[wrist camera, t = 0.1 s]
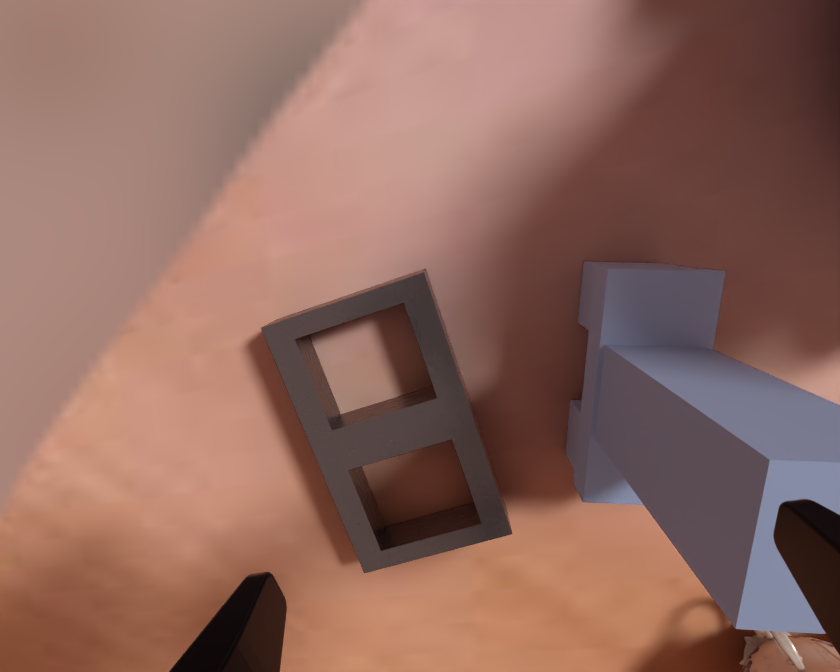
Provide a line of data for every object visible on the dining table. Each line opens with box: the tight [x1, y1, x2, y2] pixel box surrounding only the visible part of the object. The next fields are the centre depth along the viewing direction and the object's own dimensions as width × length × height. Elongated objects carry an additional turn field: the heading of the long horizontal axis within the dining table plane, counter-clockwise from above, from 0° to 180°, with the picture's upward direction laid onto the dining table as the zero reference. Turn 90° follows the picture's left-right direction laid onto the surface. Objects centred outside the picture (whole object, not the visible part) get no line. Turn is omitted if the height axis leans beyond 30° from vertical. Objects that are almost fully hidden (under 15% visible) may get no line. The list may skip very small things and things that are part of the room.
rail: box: [261, 269, 512, 573], centre depth 23 cm, size 14×8×2 cm, turn 19°
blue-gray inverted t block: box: [565, 261, 840, 634], centre depth 16 cm, size 10×4×14 cm, turn 179°
